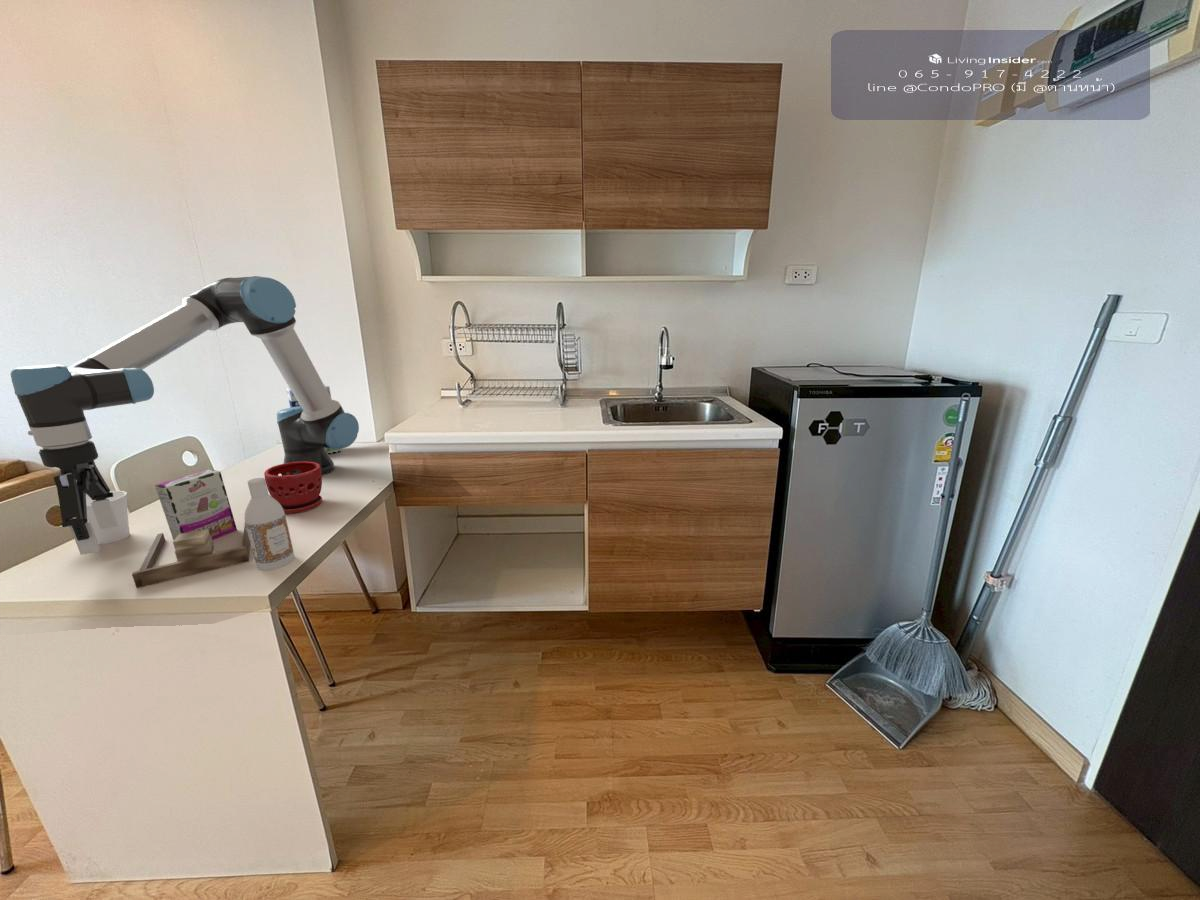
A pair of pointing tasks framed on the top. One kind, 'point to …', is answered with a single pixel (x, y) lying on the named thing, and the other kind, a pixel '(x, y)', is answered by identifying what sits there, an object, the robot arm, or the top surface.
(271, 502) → the bath foam
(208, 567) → the wooden frame
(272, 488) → the plant pot
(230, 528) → the candy bar box
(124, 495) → the cup
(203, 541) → the offcut top
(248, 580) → the top surface
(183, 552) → the offcut mid
